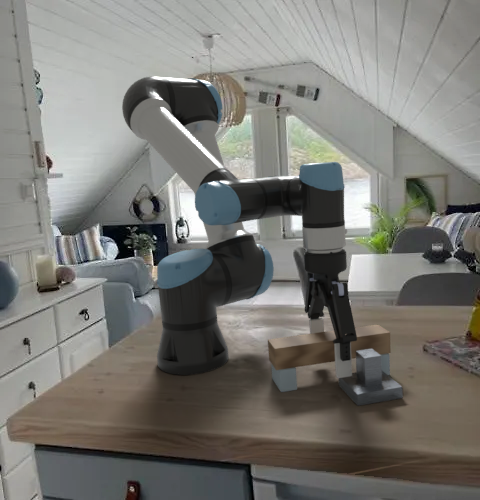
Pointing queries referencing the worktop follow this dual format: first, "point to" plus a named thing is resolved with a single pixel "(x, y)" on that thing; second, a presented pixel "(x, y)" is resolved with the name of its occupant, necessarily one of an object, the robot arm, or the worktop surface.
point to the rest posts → (288, 379)
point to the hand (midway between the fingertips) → (330, 362)
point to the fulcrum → (370, 380)
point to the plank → (323, 347)
